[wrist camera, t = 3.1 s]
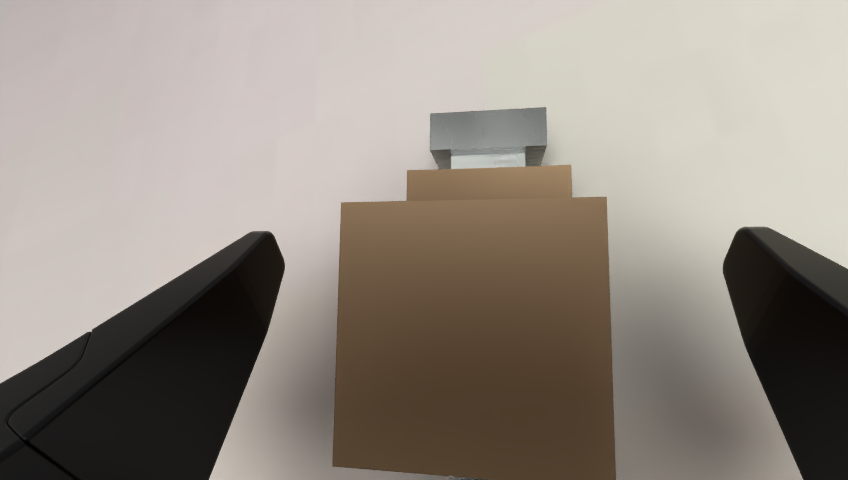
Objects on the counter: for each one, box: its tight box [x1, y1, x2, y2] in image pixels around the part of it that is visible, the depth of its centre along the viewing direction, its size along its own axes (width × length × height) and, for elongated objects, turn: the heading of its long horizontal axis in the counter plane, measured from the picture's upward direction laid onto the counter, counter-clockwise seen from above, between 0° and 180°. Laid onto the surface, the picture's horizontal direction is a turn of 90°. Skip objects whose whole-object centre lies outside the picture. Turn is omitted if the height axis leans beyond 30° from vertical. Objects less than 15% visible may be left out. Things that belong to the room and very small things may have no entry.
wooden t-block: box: [333, 165, 616, 480], centre depth 10 cm, size 5×5×11 cm
